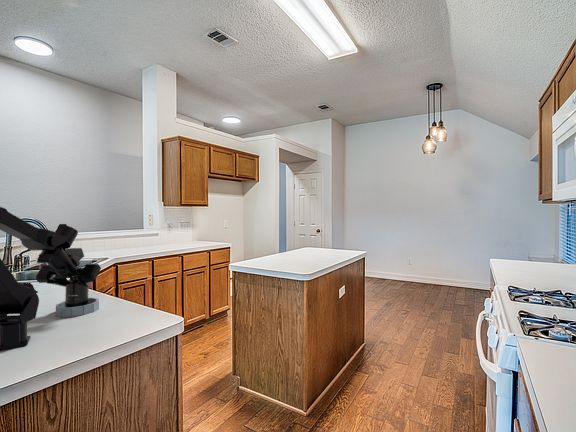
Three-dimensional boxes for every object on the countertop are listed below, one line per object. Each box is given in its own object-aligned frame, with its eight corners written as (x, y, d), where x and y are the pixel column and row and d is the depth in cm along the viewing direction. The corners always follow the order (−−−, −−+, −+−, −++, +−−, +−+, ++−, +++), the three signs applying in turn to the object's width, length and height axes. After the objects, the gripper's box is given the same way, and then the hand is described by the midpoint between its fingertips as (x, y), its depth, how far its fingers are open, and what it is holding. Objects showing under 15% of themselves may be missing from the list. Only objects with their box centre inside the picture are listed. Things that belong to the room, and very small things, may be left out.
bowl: (99, 312, 109) (99, 303, 109) (54, 319, 102) (54, 310, 102) (98, 303, 120) (98, 295, 120) (57, 309, 113) (57, 301, 113)
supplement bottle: (67, 309, 106) (68, 274, 106) (63, 305, 111) (63, 272, 111) (90, 305, 111) (91, 272, 111) (85, 301, 116) (85, 269, 116)
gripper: (97, 240, 107) (114, 267, 118) (41, 241, 106) (63, 268, 117) (84, 267, 99) (103, 293, 110) (23, 268, 98) (48, 294, 109)
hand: (79, 286), depth 112 cm, fingers closed on supplement bottle, 7 cm apart
